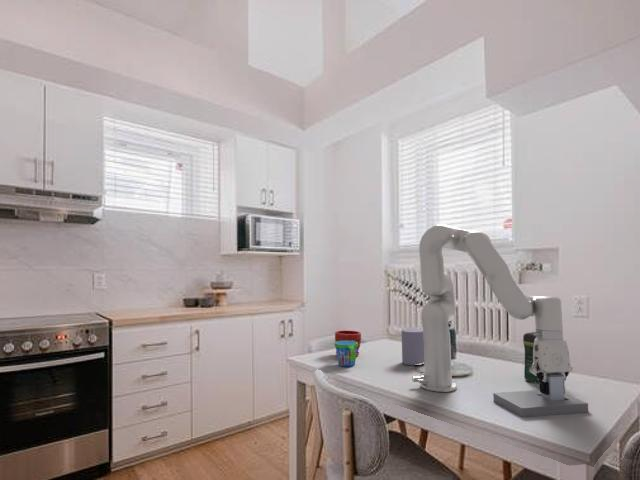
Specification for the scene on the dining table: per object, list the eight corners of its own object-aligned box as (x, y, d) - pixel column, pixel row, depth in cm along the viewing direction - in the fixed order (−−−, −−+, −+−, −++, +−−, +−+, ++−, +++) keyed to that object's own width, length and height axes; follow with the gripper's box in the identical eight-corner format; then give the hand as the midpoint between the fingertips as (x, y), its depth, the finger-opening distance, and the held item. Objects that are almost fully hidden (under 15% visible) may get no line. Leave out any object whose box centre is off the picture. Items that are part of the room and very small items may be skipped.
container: (429, 365, 172) (428, 331, 173) (407, 366, 170) (406, 332, 171) (419, 360, 182) (418, 328, 183) (399, 361, 180) (398, 329, 181)
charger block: (551, 405, 119) (550, 375, 119) (541, 400, 123) (539, 371, 124) (564, 404, 119) (563, 374, 120) (553, 399, 124) (552, 370, 125)
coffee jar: (541, 385, 141) (539, 334, 143) (521, 380, 148) (518, 331, 149) (556, 381, 146) (553, 332, 148) (535, 376, 153) (533, 329, 154)
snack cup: (331, 361, 181) (330, 339, 181) (352, 360, 183) (352, 338, 184) (339, 370, 165) (339, 346, 166) (363, 368, 168) (362, 345, 168)
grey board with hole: (522, 417, 112) (521, 408, 112) (493, 400, 126) (493, 393, 126) (588, 411, 115) (587, 403, 116) (553, 396, 129) (552, 389, 129)
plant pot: (353, 360, 184) (353, 334, 185) (330, 356, 191) (330, 332, 192) (365, 354, 195) (365, 330, 195) (343, 352, 202) (343, 328, 203)
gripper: (533, 338, 118) (536, 398, 117) (582, 336, 121) (585, 395, 119) (517, 334, 125) (520, 391, 124) (563, 332, 128) (566, 388, 127)
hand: (552, 392), depth 122 cm, fingers open, 4 cm apart
